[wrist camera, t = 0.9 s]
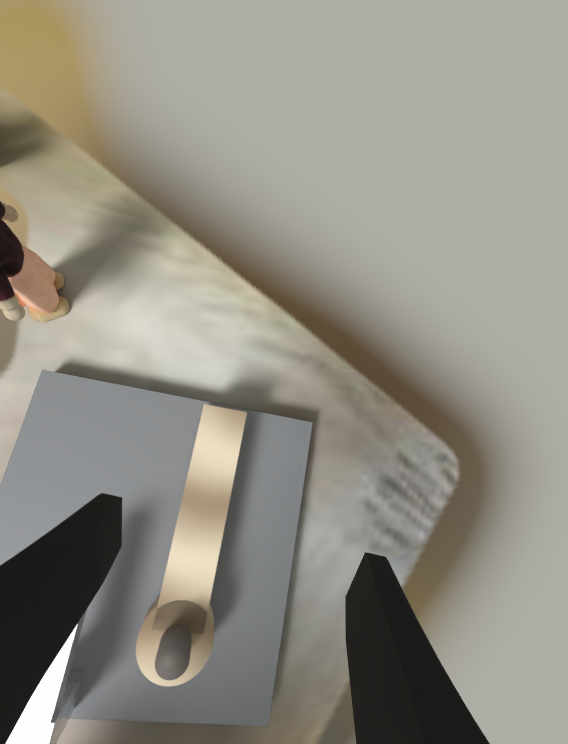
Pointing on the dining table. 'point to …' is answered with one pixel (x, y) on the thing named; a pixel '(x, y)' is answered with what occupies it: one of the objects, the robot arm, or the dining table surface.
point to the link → (193, 557)
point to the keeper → (52, 698)
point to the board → (161, 539)
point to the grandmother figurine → (26, 278)
